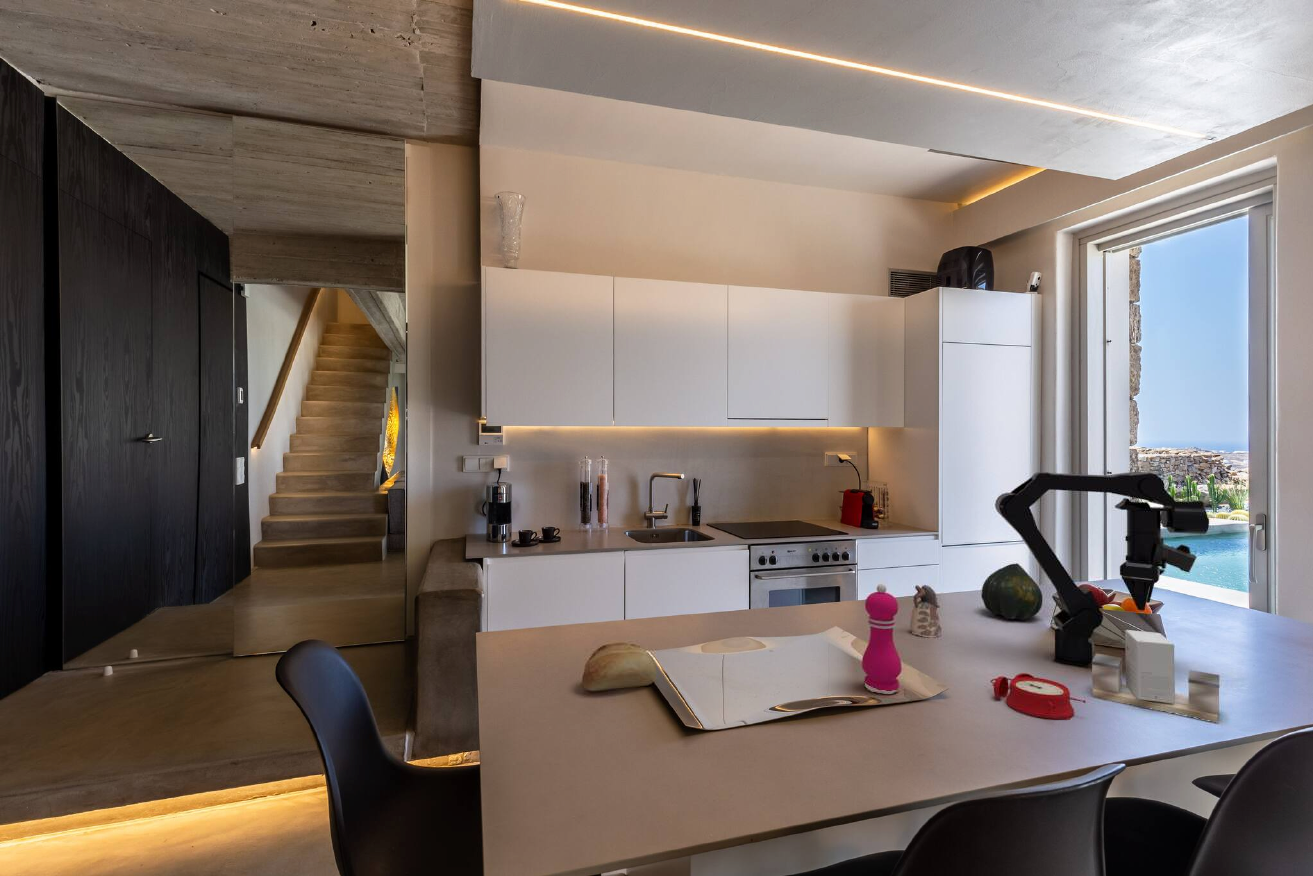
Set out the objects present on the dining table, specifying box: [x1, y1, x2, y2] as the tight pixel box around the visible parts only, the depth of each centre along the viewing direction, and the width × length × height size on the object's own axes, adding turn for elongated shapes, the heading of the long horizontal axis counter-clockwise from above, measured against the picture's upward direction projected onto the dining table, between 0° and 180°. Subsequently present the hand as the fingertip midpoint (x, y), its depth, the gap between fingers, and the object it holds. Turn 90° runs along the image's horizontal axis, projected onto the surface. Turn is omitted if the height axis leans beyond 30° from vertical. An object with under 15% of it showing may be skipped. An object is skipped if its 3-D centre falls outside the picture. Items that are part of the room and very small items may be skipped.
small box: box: [1124, 629, 1176, 703], centre depth 119 cm, size 8×6×10 cm
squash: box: [981, 563, 1043, 621], centre depth 178 cm, size 14×15×15 cm
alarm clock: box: [990, 672, 1087, 721], centre depth 118 cm, size 10×6×15 cm
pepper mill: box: [861, 583, 903, 691], centre depth 125 cm, size 7×7×20 cm
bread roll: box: [581, 642, 657, 692], centre depth 126 cm, size 10×15×8 cm, turn 116°
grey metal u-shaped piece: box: [1091, 653, 1220, 724], centre depth 118 cm, size 18×8×6 cm, turn 49°
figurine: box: [909, 584, 942, 636], centre depth 161 cm, size 7×7×12 cm
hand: (1143, 606), depth 137 cm, fingers open, 9 cm apart
